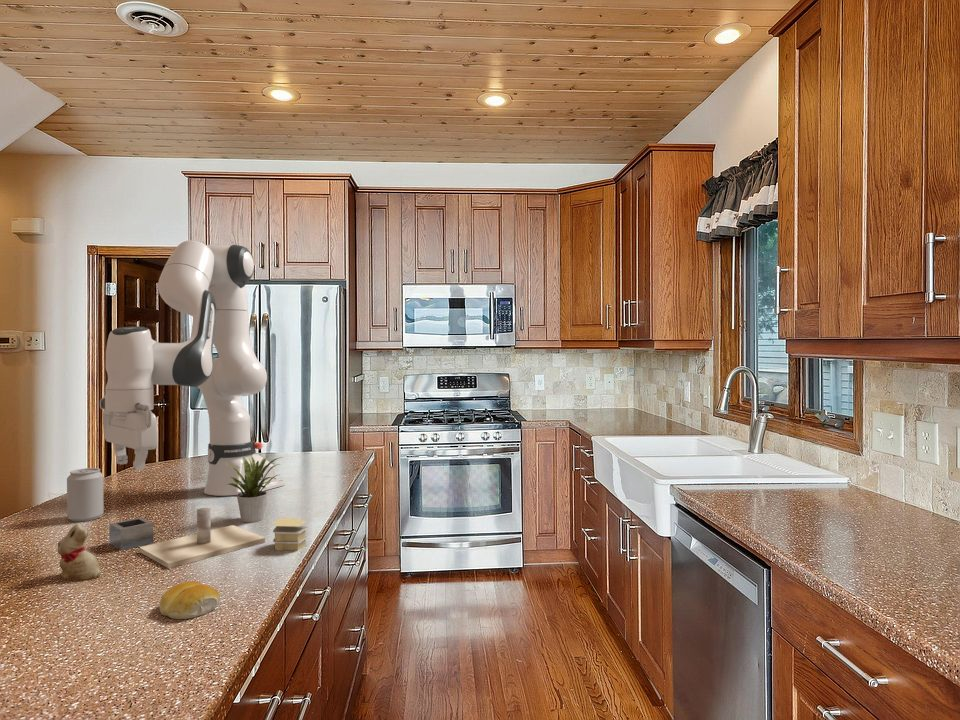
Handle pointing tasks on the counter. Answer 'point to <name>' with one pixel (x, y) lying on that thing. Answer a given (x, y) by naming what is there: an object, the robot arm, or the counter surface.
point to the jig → (201, 543)
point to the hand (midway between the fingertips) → (130, 466)
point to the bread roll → (188, 600)
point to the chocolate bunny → (77, 556)
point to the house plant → (252, 490)
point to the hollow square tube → (131, 533)
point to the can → (85, 494)
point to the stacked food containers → (289, 534)
